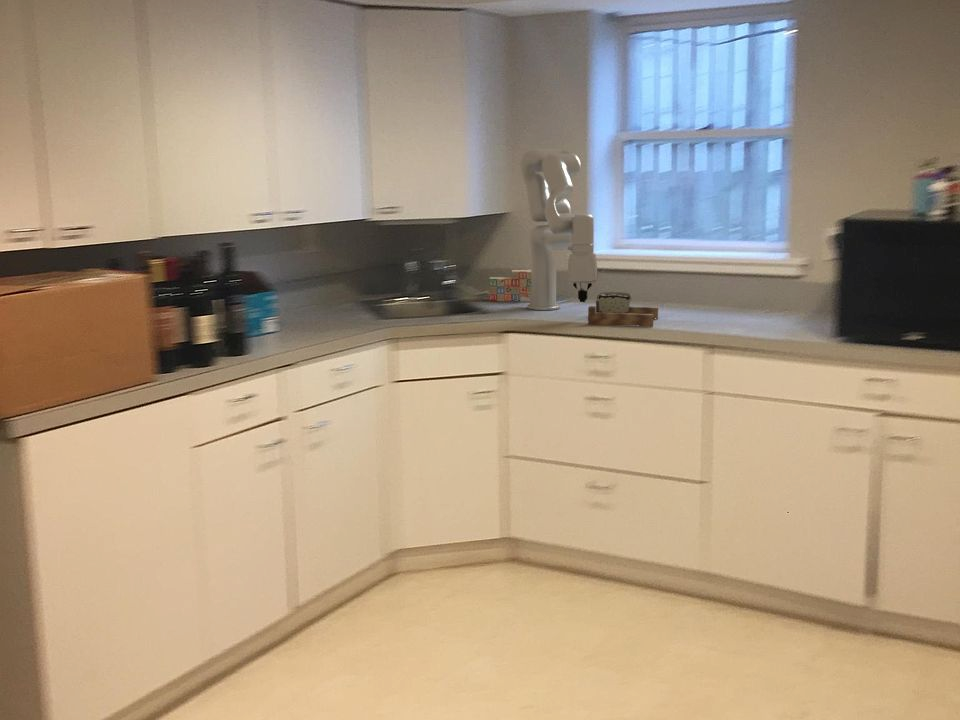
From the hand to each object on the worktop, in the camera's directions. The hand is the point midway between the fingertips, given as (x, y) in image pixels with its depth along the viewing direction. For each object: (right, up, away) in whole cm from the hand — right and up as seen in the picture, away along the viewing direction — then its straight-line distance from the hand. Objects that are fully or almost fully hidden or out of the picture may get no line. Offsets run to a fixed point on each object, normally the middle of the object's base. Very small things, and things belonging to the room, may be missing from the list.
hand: (582, 301), depth 352 cm
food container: (+11, -7, -1) cm, 13 cm away
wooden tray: (+14, -7, -2) cm, 16 cm away
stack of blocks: (-22, +3, +54) cm, 58 cm away
